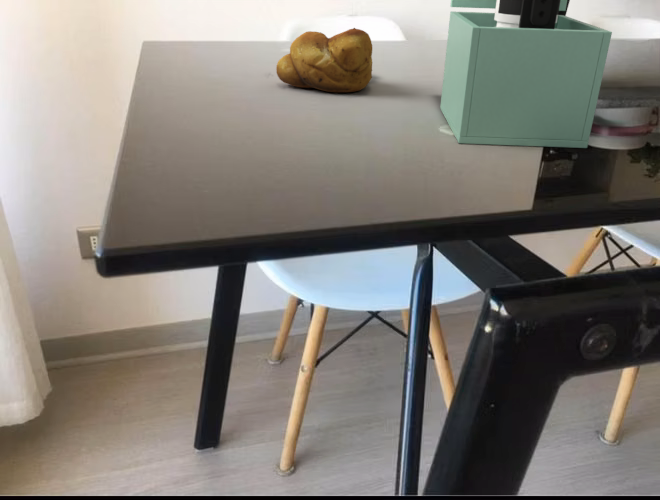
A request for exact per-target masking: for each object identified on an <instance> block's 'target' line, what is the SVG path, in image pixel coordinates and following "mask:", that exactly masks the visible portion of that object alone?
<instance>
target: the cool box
mask: <svg viewBox="0 0 660 500" xmlns="http://www.w3.org/2000/svg"><path fill="white" fill-rule="evenodd" d="M494 17H495V12H476V11H475V12H474V11H450V13H449V21H448V29H447V30H448V31H447V32H448V33H447V41H446V49H445V50H446V51H445V60H444V69H443V79H442V88H441V98H440V105H439V106H440V107H439V108H440V111H441V113H442V115H443V116H444V118H445V120H446V122H447V124H448V126H449V128H450V129H451V132H452V133H453V135H454V137H455V139H456V141H457V143H458V144H467V145H492V146H495V145H496V146H520V147H521V146H522V147H545V148H572V149H573V148H575V149H588V147H589V142H590V136H591V132H592V127H593V123H594V120H595V119H594V118H595V114H596V109H597V104H598V100H599V96H600V90H601V85H602V81H603V75H604V73H605V72H604V71H605V67H606V62H607V57H608V53H609V48H610V43H611V39H612V35H613V32H612V31H611V30H608V29H604V28H601V27H599V26H596V25H593V24H591V23H587V22H584V21H581V20H578V19H575V18H572V17H569V16H567V15H566V16H564V15H558V19H557V23H555V28H554V29H536V28H506V27H497V21H496V20H494Z"/></svg>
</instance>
